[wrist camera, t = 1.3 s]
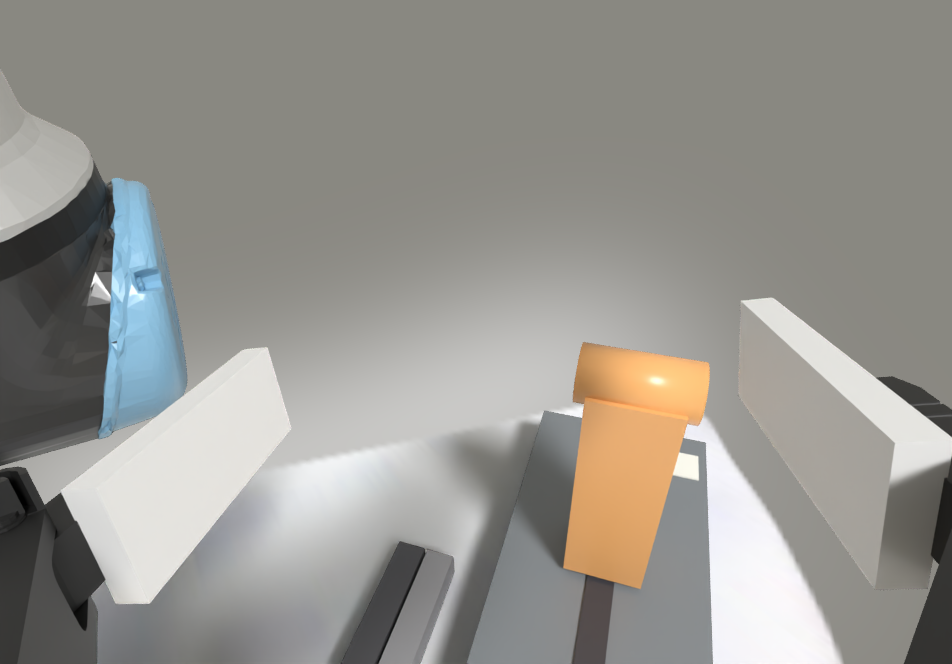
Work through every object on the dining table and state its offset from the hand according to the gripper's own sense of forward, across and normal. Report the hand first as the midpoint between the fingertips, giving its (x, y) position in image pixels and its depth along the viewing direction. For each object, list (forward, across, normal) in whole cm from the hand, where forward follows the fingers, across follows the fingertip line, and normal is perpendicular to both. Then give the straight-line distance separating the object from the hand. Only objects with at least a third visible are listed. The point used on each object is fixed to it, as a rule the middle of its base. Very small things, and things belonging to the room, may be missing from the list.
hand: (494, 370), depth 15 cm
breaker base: (+12, +3, -19) cm, 23 cm away
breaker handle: (+10, +3, -16) cm, 19 cm away
